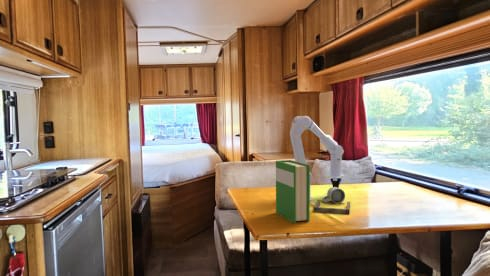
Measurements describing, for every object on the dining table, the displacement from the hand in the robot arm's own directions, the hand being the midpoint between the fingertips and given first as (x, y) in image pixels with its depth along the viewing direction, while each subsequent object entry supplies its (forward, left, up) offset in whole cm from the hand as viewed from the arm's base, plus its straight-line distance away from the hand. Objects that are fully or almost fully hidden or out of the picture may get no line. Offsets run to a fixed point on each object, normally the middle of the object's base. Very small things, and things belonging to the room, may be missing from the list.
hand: (335, 191), depth 197 cm
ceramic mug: (-1, -11, -3) cm, 12 cm away
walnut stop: (0, -25, -3) cm, 26 cm away
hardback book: (-16, -44, -3) cm, 47 cm away
